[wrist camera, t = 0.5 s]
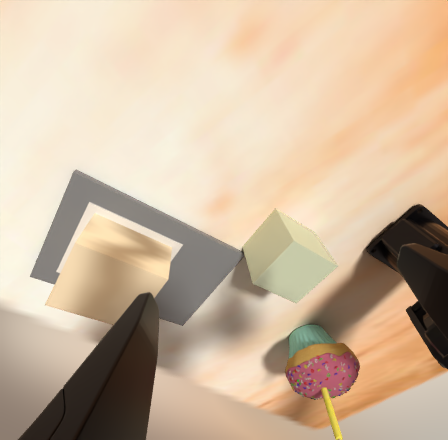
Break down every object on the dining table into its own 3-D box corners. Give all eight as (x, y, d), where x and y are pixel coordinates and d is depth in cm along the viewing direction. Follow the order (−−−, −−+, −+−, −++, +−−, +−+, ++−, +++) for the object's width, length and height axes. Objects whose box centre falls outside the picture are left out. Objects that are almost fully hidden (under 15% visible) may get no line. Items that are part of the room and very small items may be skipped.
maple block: (172, 247, 23) (168, 279, 20) (138, 294, 26) (130, 329, 22) (94, 213, 20) (75, 242, 17) (66, 269, 23) (44, 305, 20)
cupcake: (262, 344, 34) (292, 465, 24) (305, 305, 30) (361, 427, 20) (308, 358, 37) (352, 470, 27) (352, 325, 33) (420, 438, 23)
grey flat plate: (243, 252, 25) (244, 256, 24) (182, 321, 30) (182, 326, 29) (76, 169, 19) (72, 172, 18) (32, 272, 24) (29, 277, 23)
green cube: (313, 231, 25) (338, 266, 20) (280, 265, 27) (296, 303, 22) (275, 207, 23) (293, 240, 19) (242, 246, 25) (252, 283, 20)
